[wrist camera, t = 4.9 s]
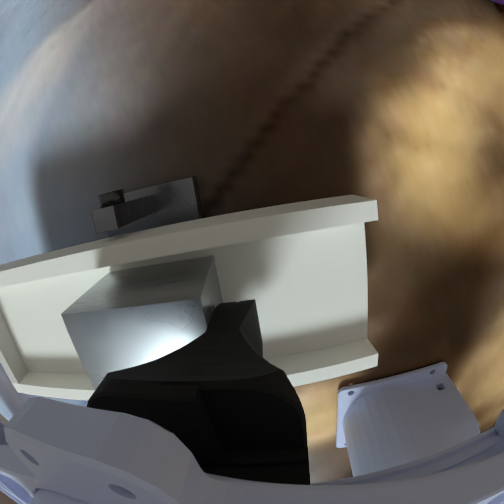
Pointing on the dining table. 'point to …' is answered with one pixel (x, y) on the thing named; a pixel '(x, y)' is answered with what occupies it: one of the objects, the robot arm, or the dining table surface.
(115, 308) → the block
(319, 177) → the dining table surface
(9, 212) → the dining table surface
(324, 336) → the balance beam
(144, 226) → the beam stand
